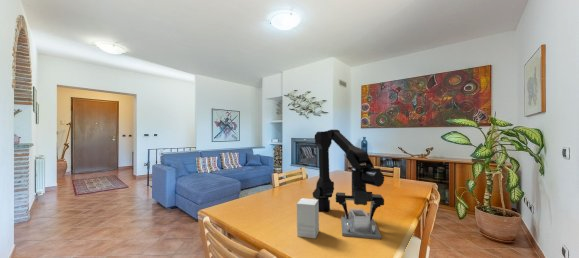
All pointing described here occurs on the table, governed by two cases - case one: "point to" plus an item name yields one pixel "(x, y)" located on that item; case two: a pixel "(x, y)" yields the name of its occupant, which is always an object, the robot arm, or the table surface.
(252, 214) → the table surface
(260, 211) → the table surface
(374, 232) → the pin tray
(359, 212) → the block
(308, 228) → the supplement box
